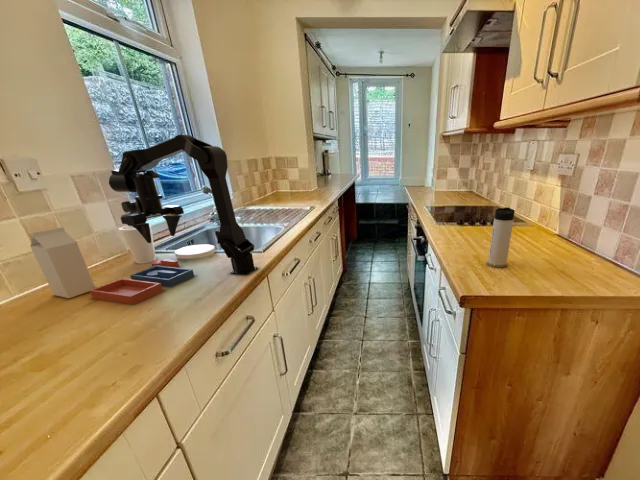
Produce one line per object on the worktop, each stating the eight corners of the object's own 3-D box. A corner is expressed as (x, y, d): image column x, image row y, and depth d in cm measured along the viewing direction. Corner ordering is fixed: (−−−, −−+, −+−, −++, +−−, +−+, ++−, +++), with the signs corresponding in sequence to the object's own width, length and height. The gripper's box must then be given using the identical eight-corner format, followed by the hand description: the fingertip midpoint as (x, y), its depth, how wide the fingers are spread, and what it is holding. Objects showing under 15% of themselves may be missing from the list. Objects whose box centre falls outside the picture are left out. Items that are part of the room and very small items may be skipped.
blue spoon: (182, 276, 105) (180, 270, 104) (170, 282, 101) (168, 275, 100) (157, 273, 107) (155, 267, 106) (144, 278, 103) (142, 272, 102)
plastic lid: (182, 251, 131) (181, 245, 130) (219, 248, 134) (218, 243, 133) (171, 262, 119) (169, 256, 118) (211, 259, 122) (210, 253, 121)
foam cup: (129, 266, 115) (116, 231, 110) (132, 259, 123) (121, 225, 117) (160, 261, 120) (149, 227, 114) (161, 255, 127) (151, 222, 122)
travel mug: (508, 263, 116) (517, 208, 108) (503, 269, 111) (512, 211, 103) (490, 260, 119) (498, 206, 111) (485, 265, 114) (493, 209, 106)
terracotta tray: (163, 290, 96) (160, 283, 95) (133, 304, 88) (130, 296, 87) (124, 285, 100) (121, 278, 99) (92, 298, 91) (89, 290, 90)
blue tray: (194, 276, 106) (192, 269, 105) (170, 287, 98) (168, 279, 97) (158, 272, 110) (156, 265, 109) (132, 282, 102) (129, 275, 101)
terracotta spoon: (183, 265, 116) (181, 259, 115) (172, 269, 112) (170, 263, 111) (160, 262, 119) (158, 256, 118) (148, 267, 115) (146, 260, 114)
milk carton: (96, 289, 97) (71, 228, 89) (69, 299, 91) (39, 234, 83) (81, 286, 99) (55, 226, 91) (53, 295, 93) (23, 232, 85)
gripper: (153, 188, 113) (166, 231, 120) (99, 195, 97) (116, 245, 103) (179, 189, 111) (190, 233, 117) (127, 197, 94) (143, 247, 101)
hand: (161, 239), depth 110 cm, fingers open, 9 cm apart
